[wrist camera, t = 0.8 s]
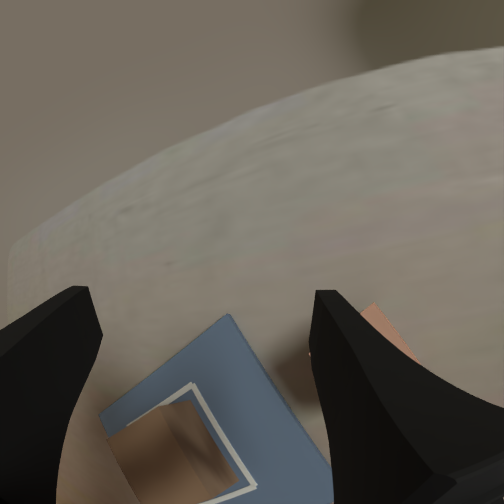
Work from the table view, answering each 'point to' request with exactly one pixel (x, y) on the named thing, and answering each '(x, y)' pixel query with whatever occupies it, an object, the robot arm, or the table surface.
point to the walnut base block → (171, 457)
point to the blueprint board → (235, 419)
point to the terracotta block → (386, 329)
